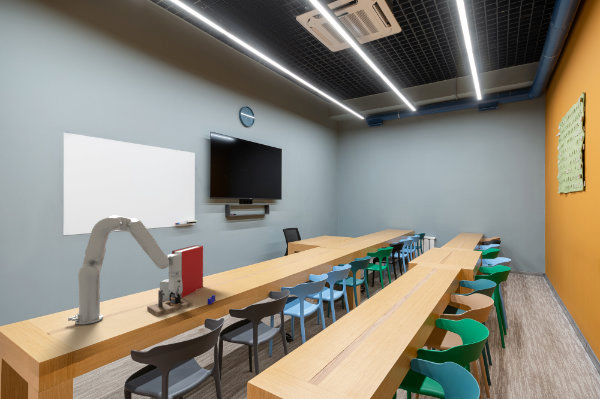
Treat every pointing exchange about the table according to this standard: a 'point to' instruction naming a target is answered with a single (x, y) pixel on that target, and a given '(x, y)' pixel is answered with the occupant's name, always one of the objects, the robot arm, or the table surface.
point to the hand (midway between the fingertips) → (174, 301)
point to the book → (191, 268)
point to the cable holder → (211, 299)
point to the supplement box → (165, 289)
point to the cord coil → (173, 300)
